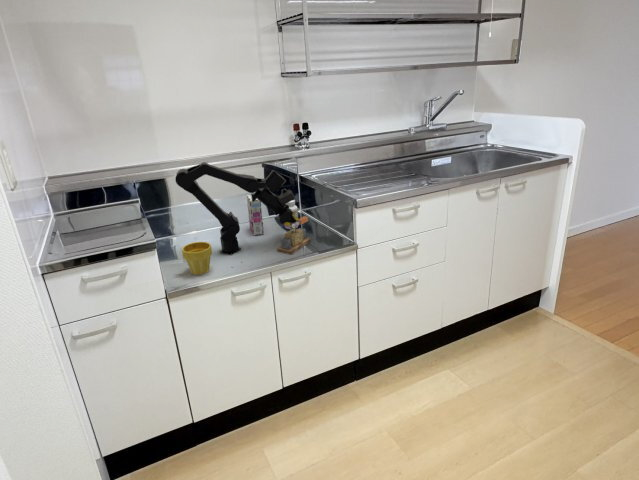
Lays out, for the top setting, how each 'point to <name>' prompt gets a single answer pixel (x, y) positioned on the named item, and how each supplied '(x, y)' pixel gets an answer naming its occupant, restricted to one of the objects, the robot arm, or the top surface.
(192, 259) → the plant pot
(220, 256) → the top surface
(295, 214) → the supplement bottle
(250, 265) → the top surface
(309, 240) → the walnut mounting plank
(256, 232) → the candy bar box
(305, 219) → the valve lever
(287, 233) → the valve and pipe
